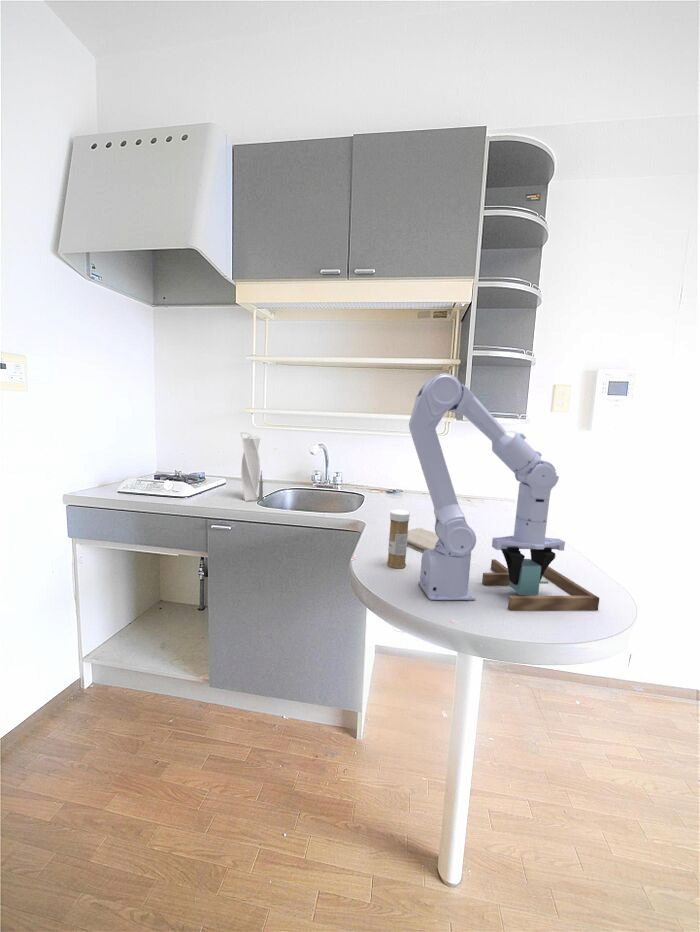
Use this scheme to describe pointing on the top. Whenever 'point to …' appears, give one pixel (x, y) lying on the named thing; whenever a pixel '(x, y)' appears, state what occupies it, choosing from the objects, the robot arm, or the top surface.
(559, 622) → the top surface
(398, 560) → the sprinkles bottle
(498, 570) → the channel
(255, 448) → the skyscraper
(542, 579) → the pad
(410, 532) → the washcloth
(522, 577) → the teal block
